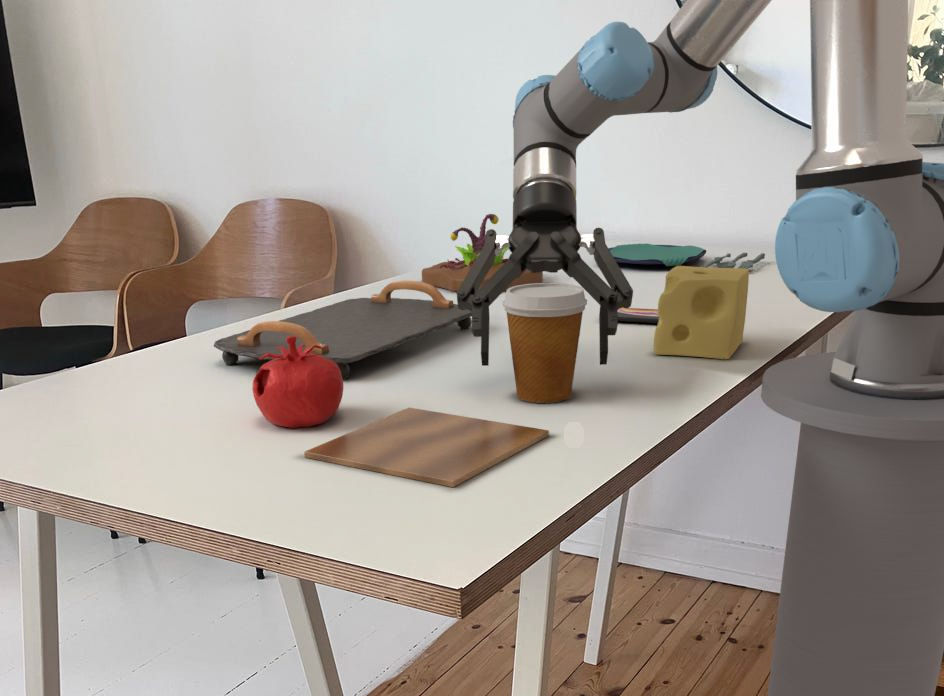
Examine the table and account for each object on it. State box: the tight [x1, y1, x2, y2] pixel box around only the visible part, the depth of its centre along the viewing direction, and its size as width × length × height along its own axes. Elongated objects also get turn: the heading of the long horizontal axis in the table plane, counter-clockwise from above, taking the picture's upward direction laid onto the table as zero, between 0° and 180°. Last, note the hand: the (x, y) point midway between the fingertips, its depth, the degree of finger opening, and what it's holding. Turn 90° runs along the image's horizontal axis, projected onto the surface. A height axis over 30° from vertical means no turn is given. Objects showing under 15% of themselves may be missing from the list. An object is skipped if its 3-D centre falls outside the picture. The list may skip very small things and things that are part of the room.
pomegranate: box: [252, 335, 344, 429], centre depth 120 cm, size 10×10×9 cm
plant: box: [421, 213, 544, 293], centre depth 192 cm, size 20×20×11 cm
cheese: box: [653, 265, 750, 360], centre depth 144 cm, size 10×11×10 cm
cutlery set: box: [608, 243, 766, 269], centre depth 205 cm, size 20×30×2 cm, turn 60°
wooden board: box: [303, 407, 550, 488], centre depth 112 cm, size 18×18×1 cm
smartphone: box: [617, 307, 659, 324], centre depth 163 cm, size 8×1×15 cm
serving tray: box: [213, 280, 472, 381], centre depth 152 cm, size 39×23×6 cm, turn 150°
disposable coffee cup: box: [501, 282, 588, 404], centre depth 125 cm, size 10×10×12 cm
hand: (544, 359), depth 124 cm, fingers open, 13 cm apart
